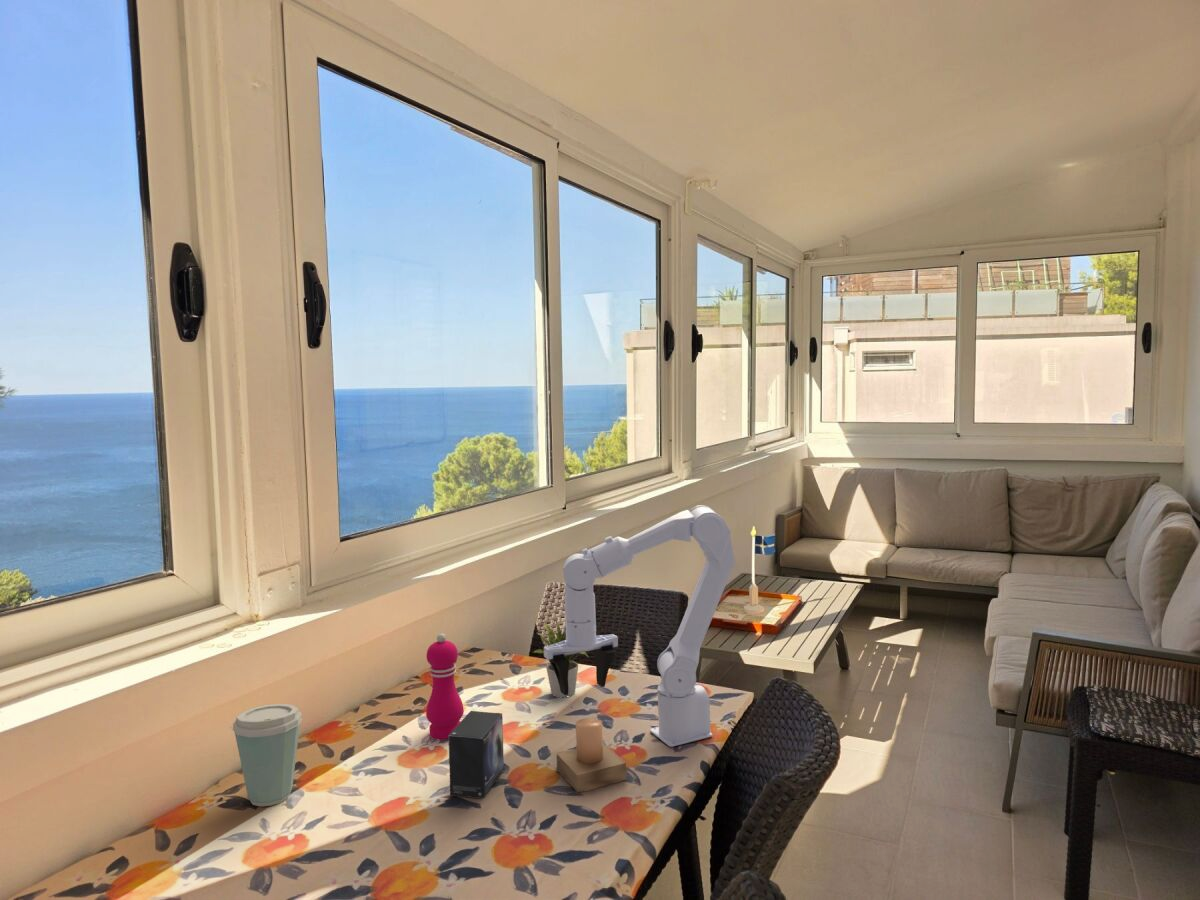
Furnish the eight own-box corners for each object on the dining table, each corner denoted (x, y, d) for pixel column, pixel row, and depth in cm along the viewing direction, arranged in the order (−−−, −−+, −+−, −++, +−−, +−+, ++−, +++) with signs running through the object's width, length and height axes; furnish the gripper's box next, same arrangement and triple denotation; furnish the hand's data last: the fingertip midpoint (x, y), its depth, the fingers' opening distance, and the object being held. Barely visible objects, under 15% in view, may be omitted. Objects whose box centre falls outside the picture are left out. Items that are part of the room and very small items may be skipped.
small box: (486, 800, 129) (483, 737, 128) (448, 797, 130) (445, 735, 130) (506, 769, 139) (504, 711, 139) (471, 766, 141) (469, 709, 140)
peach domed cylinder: (597, 749, 139) (596, 716, 139) (607, 760, 135) (606, 726, 135) (572, 754, 137) (571, 721, 137) (582, 765, 133) (581, 731, 133)
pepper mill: (419, 738, 153) (414, 637, 151) (440, 723, 159) (436, 626, 158) (451, 743, 150) (446, 641, 148) (471, 728, 157) (467, 629, 155)
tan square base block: (603, 758, 142) (602, 742, 142) (626, 779, 134) (625, 762, 134) (557, 769, 138) (556, 753, 138) (577, 792, 130) (577, 775, 130)
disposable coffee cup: (238, 789, 135) (232, 704, 134) (305, 775, 139) (300, 693, 138) (236, 820, 125) (230, 728, 124) (308, 804, 129) (303, 715, 128)
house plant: (596, 707, 165) (594, 631, 164) (530, 709, 165) (527, 633, 164) (597, 682, 179) (595, 611, 178) (536, 683, 179) (534, 613, 178)
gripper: (605, 607, 155) (607, 675, 156) (536, 619, 148) (539, 689, 150) (622, 616, 149) (624, 686, 150) (551, 629, 142) (553, 702, 143)
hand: (582, 689), depth 149 cm, fingers open, 7 cm apart
